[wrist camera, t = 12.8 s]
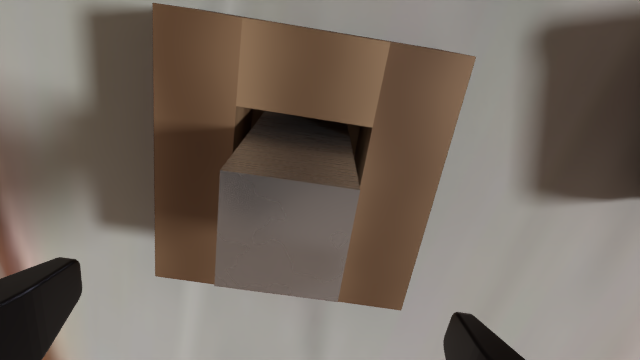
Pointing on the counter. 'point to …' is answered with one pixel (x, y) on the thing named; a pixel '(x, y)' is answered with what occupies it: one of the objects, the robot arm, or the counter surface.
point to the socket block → (307, 101)
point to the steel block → (287, 208)
